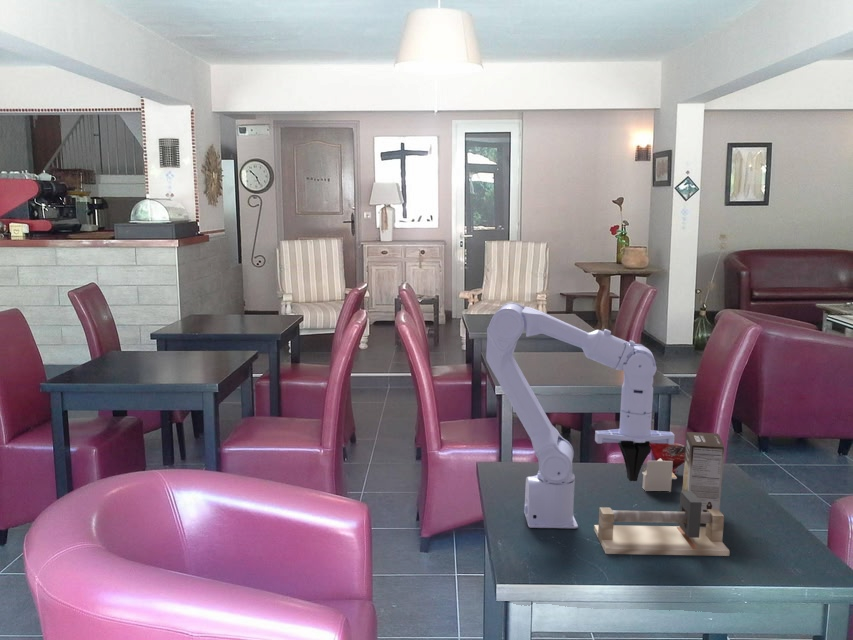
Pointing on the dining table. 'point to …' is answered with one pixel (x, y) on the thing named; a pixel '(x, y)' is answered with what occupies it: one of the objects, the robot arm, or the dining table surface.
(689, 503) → the upright gray tile
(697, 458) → the coffee box
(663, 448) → the decorative bird figurine
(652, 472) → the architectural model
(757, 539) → the dining table surface
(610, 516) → the pipe board
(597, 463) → the dining table surface
